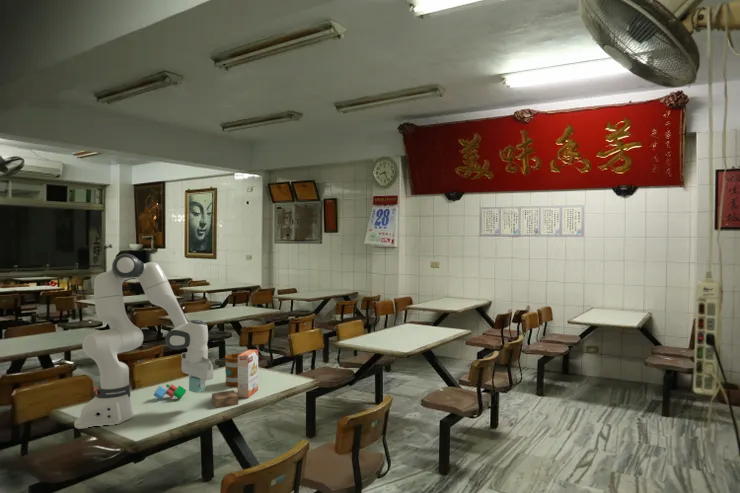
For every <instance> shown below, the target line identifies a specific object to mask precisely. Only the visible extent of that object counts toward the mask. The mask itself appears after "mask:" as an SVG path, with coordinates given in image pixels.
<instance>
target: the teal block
mask: <svg viewBox="0 0 740 493" xmlns="http://www.w3.org/2000/svg"><path fill="white" fill-rule="evenodd" d="M200 382H201V381H200V378H197V377H195V376H194V377H190V378H189V377H188V391H189V392H191V393H200V392H203V391H206V382H205V383H204V387H203V388H200V387H199V383H200Z"/></svg>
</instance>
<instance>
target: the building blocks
mask: <svg viewBox="0 0 740 493" xmlns="http://www.w3.org/2000/svg"><path fill="white" fill-rule="evenodd" d="M165 386H166V388H168V389H165V388H164V387H163V386H160V385H159V386H158V387H157V389H156V390H155V391H154V393H153V396H154V397H155V398H156V399H158V400H162V399H163V398H164V397H165V395H167V396H168V397H170V398H172V399H173V398H174V397H176V398H177V399H179V400H181V399H182V398H183V396H184V395H185V394H186V392H187V389H185V388H184V387H182V385H178V386H175V385H174V384H169V383H167V384H165Z"/></svg>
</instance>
